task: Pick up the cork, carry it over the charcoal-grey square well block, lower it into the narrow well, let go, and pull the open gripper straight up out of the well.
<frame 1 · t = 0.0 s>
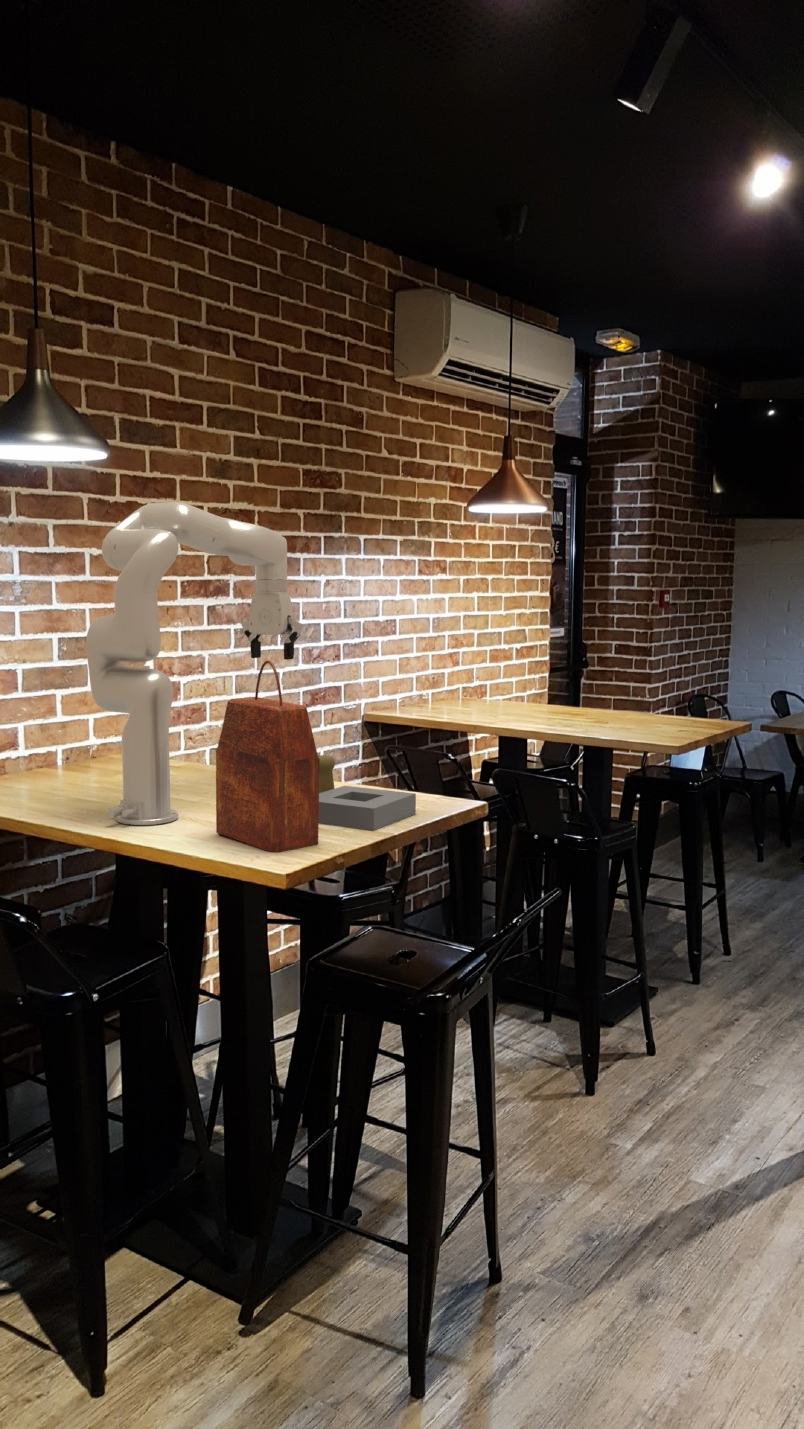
hand: (272, 658, 256), 31 cm above the table, tool pointing down, fingers open, 9 cm apart
cork: (323, 804, 238), on the table
well block: (358, 817, 224), on the table
handbag: (266, 840, 204), on the table
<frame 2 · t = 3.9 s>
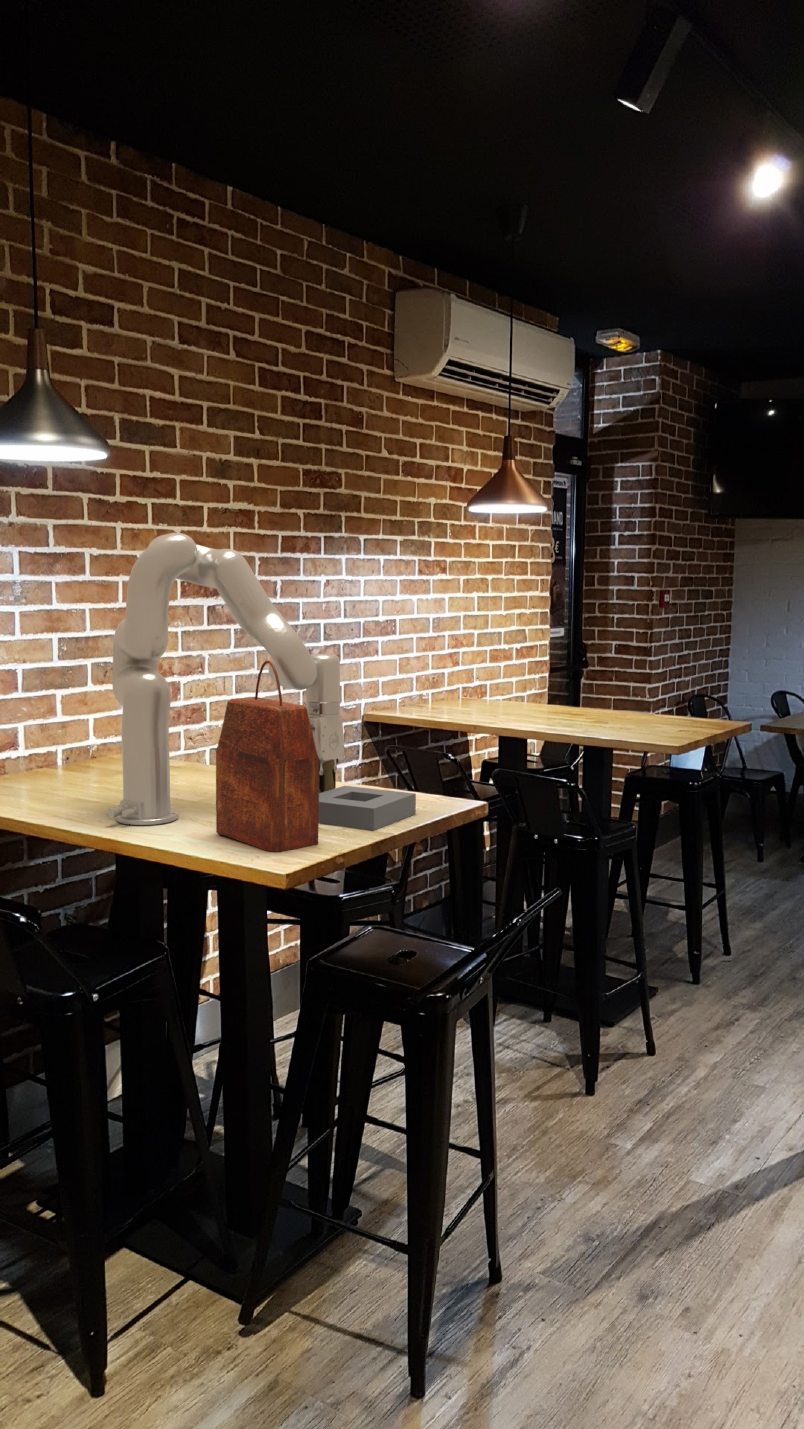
hand: (323, 789, 237), 3 cm above the table, tool pointing down, fingers closed on cork, 3 cm apart
cork: (323, 804, 237), on the table, touching gripper
everything else where it was.
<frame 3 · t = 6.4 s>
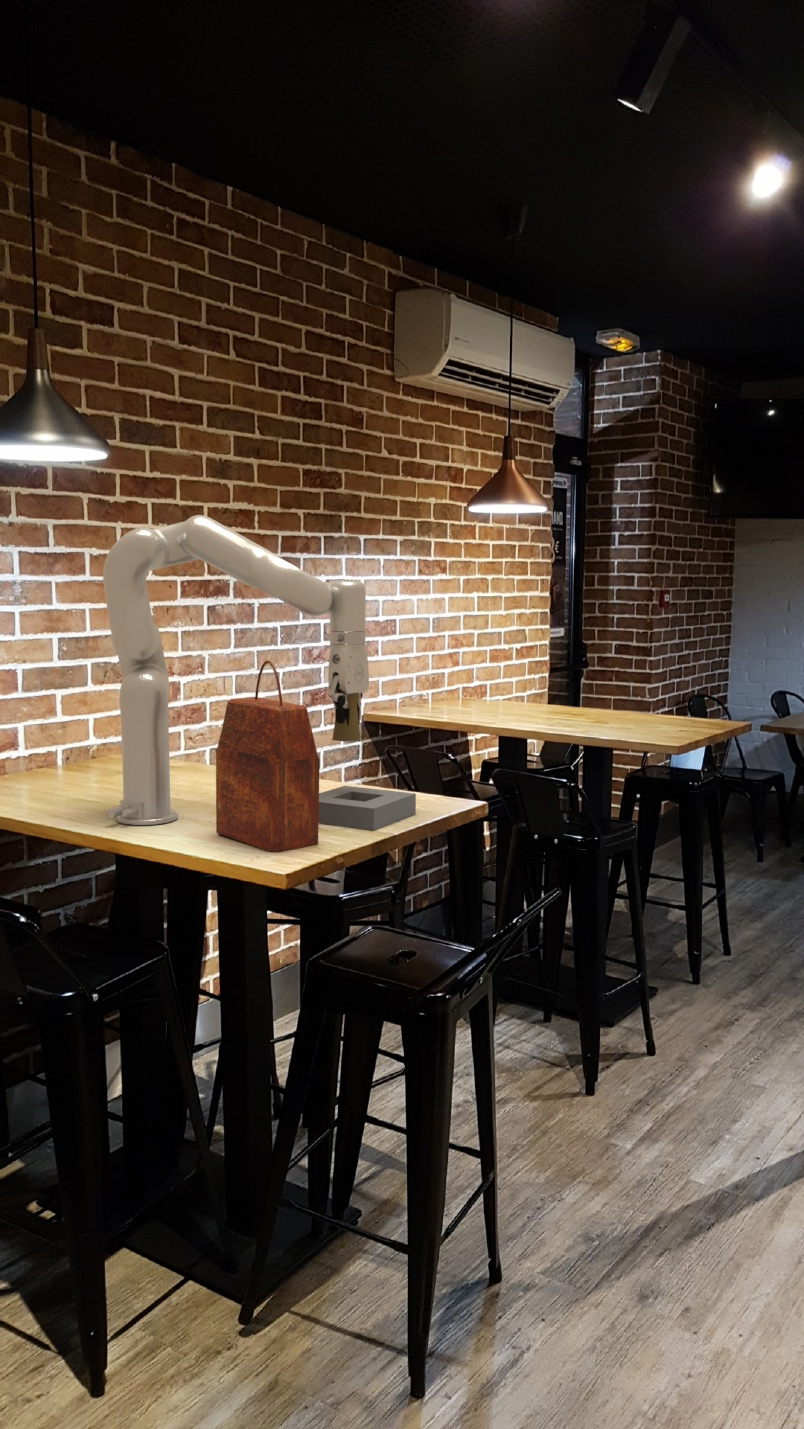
hand: (347, 724, 226), 19 cm above the table, tool pointing down, fingers closed on cork, 3 cm apart
cork: (346, 740, 226), point 16 cm above the table, touching gripper
everything else where it was.
when the fingers open (6 cm above the table, at t = 9.0 s): cork drops 2 cm, resting in well block.
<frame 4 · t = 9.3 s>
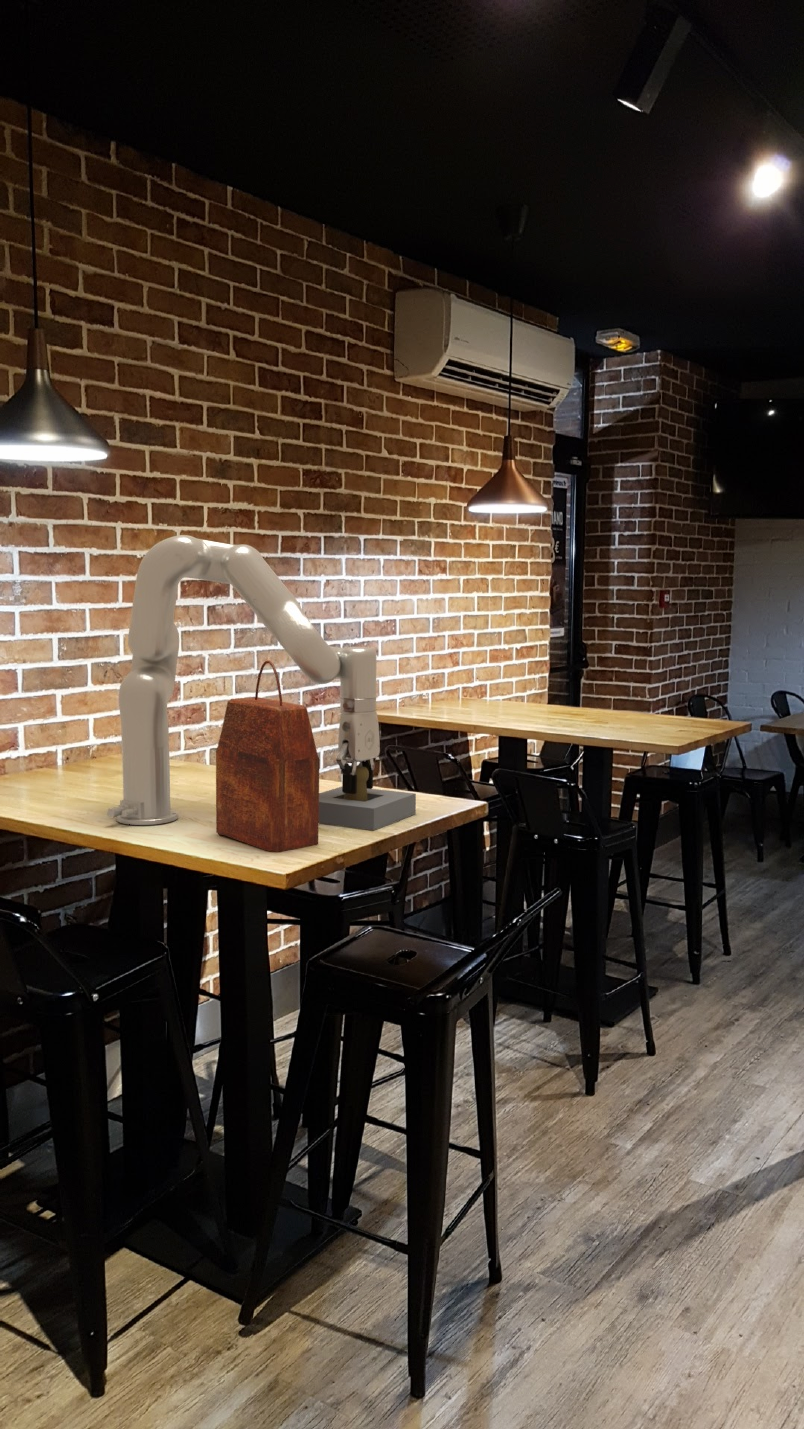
hand: (357, 789, 223), 6 cm above the table, tool pointing down, fingers open, 6 cm apart
cork: (355, 818, 223), resting in well block, touching gripper
everything else where it was.
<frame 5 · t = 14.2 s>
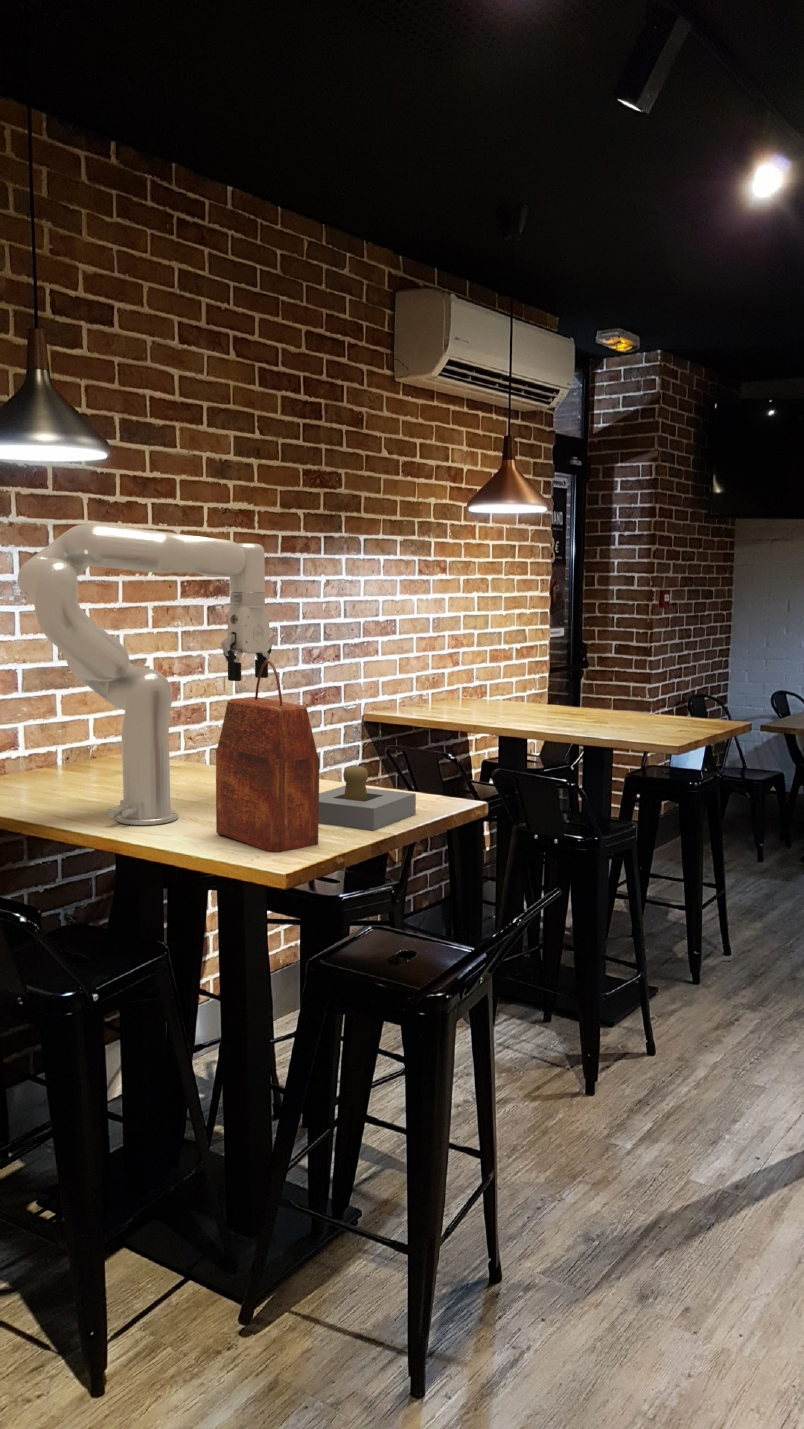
hand: (248, 679, 232), 28 cm above the table, tool pointing down, fingers open, 9 cm apart
cork: (355, 818, 223), resting in well block
everything else where it was.
at the end: cork 0.8 cm off-centre on the well block, point 0.0 cm above the well block's base; cork tilted 0°; the gripper is holding nothing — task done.
